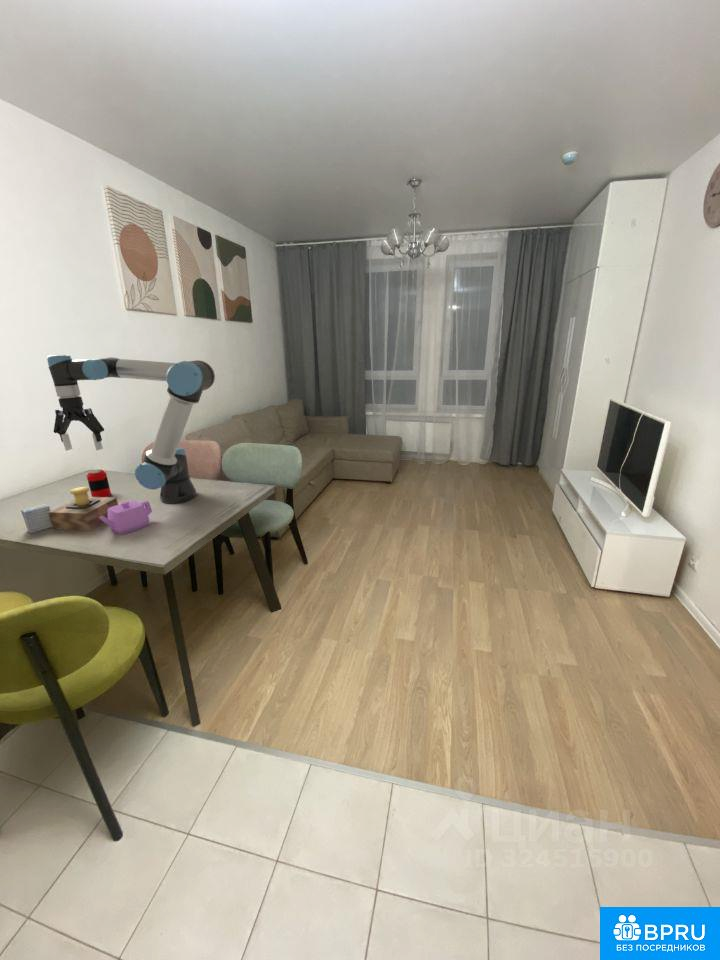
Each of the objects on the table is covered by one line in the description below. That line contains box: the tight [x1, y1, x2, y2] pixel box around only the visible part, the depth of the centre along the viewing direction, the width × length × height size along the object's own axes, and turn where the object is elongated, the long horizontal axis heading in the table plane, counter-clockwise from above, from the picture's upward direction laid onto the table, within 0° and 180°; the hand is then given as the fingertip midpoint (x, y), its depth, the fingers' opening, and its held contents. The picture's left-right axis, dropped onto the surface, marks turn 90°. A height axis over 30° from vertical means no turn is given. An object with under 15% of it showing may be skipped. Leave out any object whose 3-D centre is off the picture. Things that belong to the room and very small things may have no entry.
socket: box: [48, 496, 119, 531], centre depth 158 cm, size 16×16×8 cm
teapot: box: [99, 500, 153, 536], centre depth 151 cm, size 18×10×10 cm, turn 143°
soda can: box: [86, 469, 112, 497], centre depth 184 cm, size 8×8×12 cm
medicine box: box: [21, 503, 53, 534], centre depth 152 cm, size 8×4×9 cm, turn 141°
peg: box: [69, 486, 90, 506], centre depth 156 cm, size 6×6×8 cm
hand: (84, 449), depth 162 cm, fingers open, 13 cm apart
